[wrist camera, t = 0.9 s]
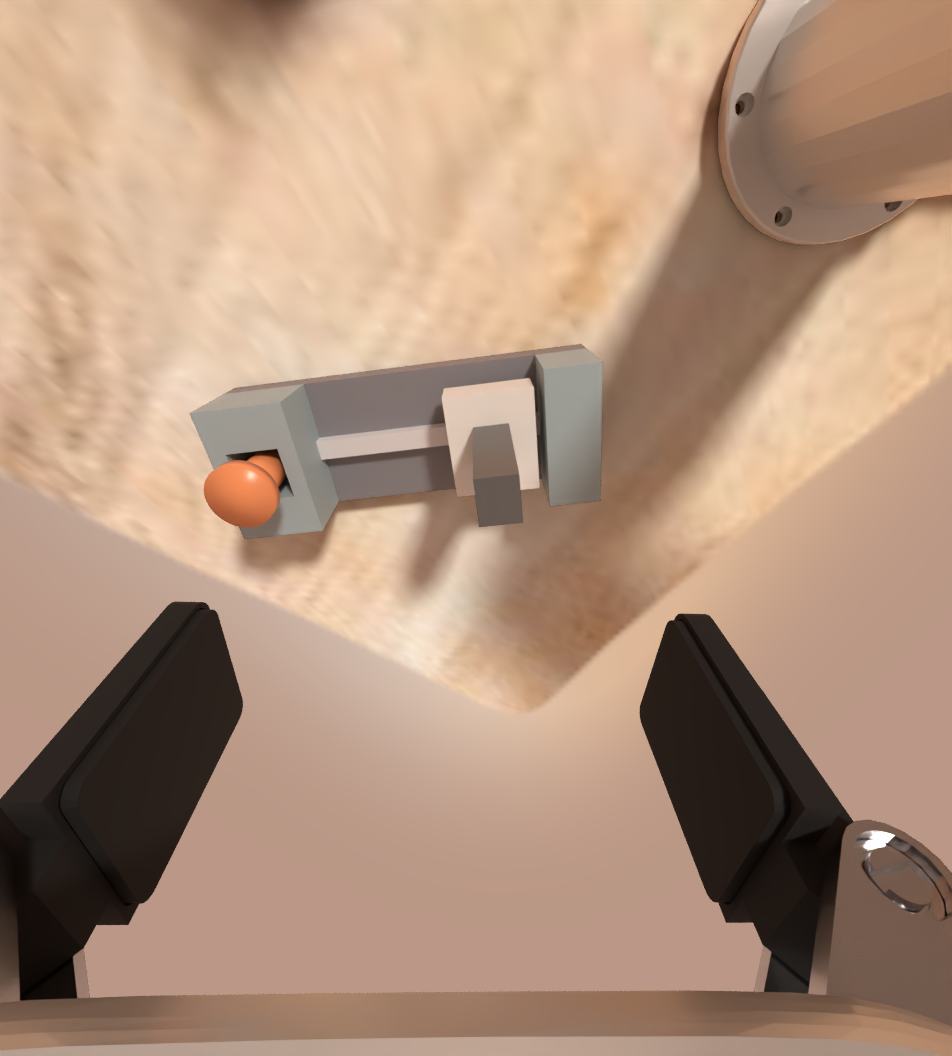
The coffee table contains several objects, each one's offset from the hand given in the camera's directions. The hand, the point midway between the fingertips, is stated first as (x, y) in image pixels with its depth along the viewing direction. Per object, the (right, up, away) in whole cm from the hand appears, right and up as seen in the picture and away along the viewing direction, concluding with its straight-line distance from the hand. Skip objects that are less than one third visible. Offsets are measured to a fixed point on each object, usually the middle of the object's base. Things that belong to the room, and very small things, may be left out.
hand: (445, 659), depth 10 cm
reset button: (-12, +7, +19) cm, 23 cm away
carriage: (+2, +9, +19) cm, 21 cm away
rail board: (-3, +9, +21) cm, 23 cm away
